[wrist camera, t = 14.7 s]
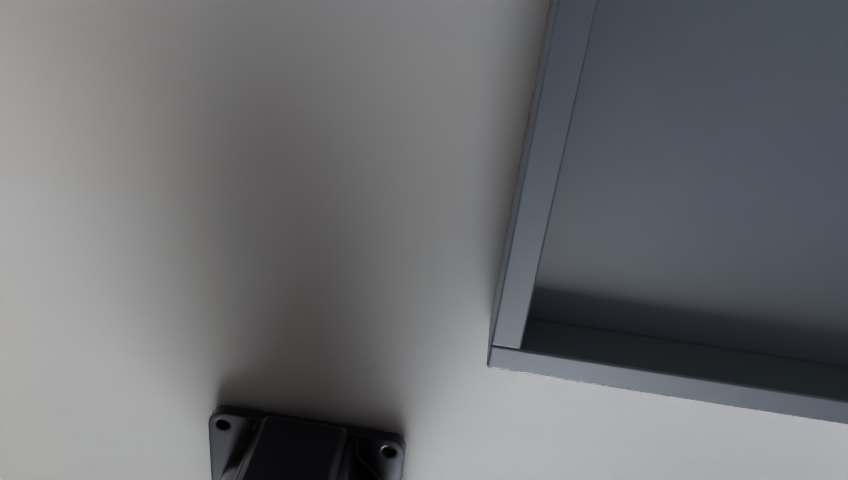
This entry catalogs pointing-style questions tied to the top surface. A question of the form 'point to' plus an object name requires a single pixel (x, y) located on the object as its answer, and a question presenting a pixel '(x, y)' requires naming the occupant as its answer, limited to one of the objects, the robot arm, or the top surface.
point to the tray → (685, 205)
